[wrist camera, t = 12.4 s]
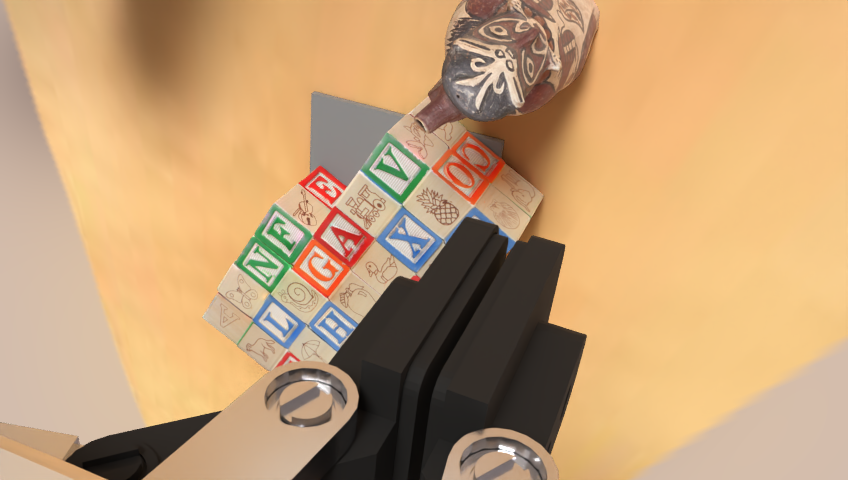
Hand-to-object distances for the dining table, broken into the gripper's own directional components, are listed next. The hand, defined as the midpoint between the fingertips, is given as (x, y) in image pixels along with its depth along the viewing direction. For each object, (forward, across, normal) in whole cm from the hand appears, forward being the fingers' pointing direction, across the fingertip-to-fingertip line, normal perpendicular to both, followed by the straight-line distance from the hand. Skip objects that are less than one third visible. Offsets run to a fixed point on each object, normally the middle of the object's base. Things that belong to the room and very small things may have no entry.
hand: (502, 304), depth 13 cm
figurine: (+31, +7, +5) cm, 32 cm away
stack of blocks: (+28, +9, +24) cm, 38 cm away
